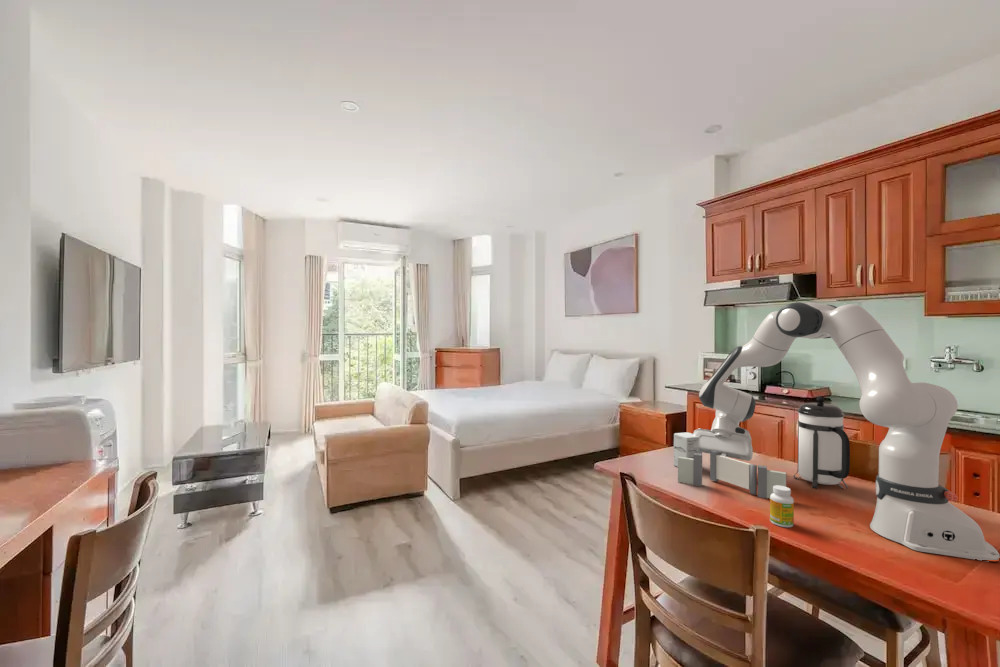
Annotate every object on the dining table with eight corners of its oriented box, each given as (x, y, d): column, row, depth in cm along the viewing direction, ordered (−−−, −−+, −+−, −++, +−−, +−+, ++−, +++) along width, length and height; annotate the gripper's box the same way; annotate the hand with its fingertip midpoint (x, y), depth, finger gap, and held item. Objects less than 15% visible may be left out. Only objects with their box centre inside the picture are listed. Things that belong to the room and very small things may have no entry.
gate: (758, 493, 135) (758, 462, 135) (754, 494, 134) (754, 463, 134) (713, 478, 148) (713, 450, 148) (710, 479, 147) (710, 451, 147)
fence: (785, 499, 131) (785, 465, 131) (785, 502, 129) (786, 467, 129) (678, 480, 148) (678, 450, 148) (677, 482, 146) (677, 452, 146)
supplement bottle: (782, 529, 112) (783, 492, 112) (765, 520, 117) (765, 485, 117) (798, 526, 113) (799, 490, 113) (780, 518, 119) (780, 483, 118)
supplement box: (672, 465, 164) (673, 433, 164) (688, 463, 167) (688, 431, 167) (686, 471, 157) (686, 437, 157) (702, 469, 160) (702, 436, 159)
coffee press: (785, 482, 146) (786, 396, 146) (802, 473, 156) (802, 391, 155) (848, 498, 132) (849, 402, 132) (862, 487, 142) (863, 398, 142)
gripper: (692, 423, 163) (684, 453, 156) (753, 431, 149) (747, 465, 142) (696, 432, 166) (688, 463, 159) (756, 441, 153) (750, 475, 145)
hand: (716, 464), depth 150 cm, fingers closed
